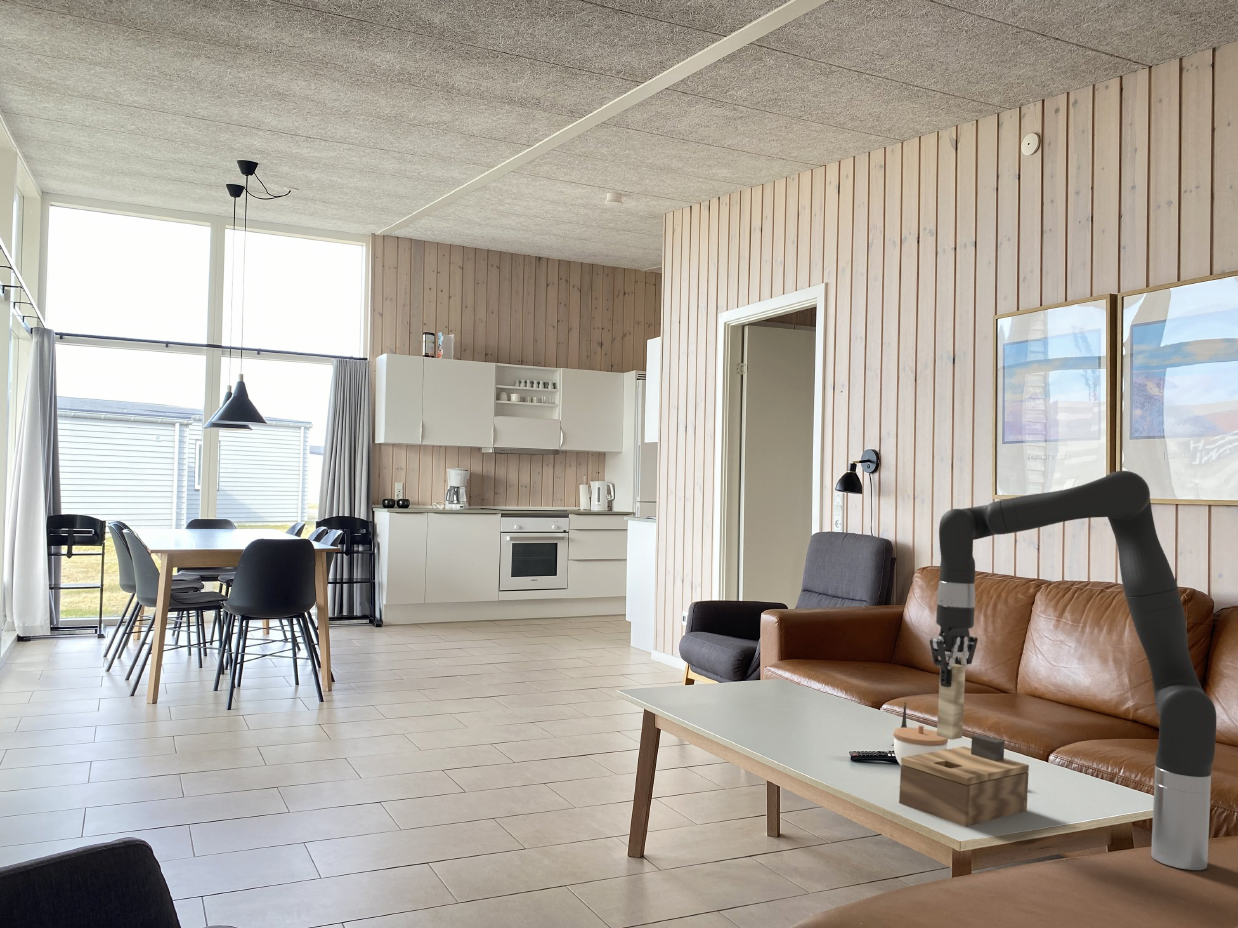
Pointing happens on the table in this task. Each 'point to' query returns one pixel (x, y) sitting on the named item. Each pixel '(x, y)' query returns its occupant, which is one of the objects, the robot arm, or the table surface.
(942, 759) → the wooden box lid
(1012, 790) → the wooden rectangular box
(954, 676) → the key peg
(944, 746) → the lidded bowl
